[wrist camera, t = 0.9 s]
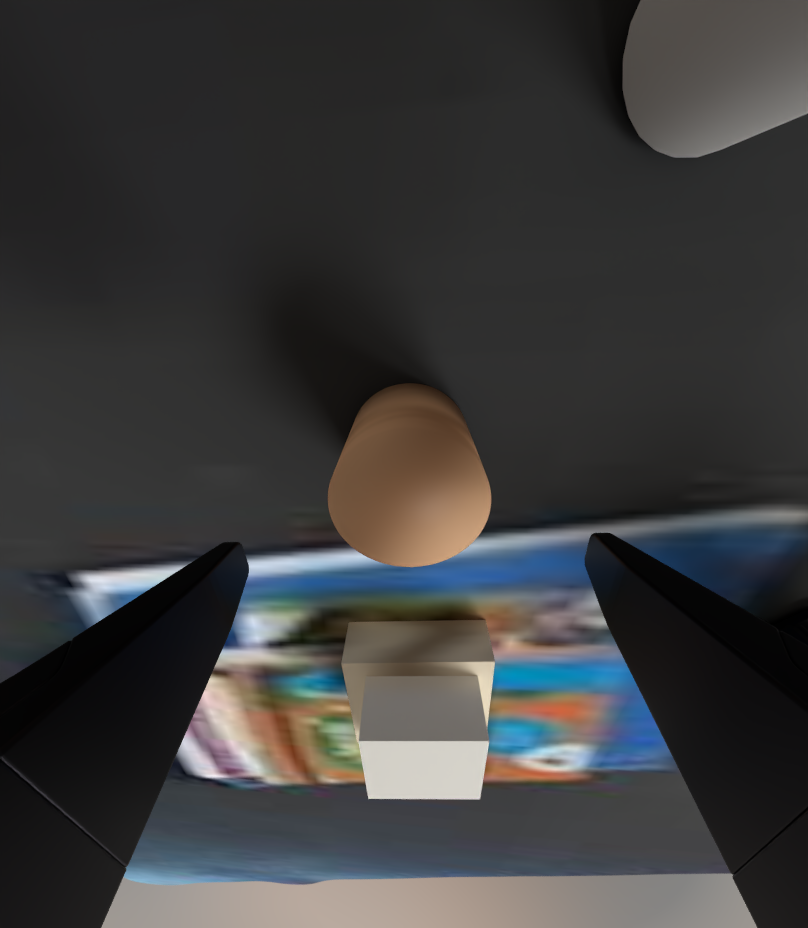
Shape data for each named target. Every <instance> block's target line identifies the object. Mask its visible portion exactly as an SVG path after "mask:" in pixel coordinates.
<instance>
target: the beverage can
mask: <svg viewBox="0 0 808 928" xmlns="http://www.w3.org/2000/svg"><path fill="white" fill-rule="evenodd" d="M622 90H623V94H624V99H625V103H626V108H627V112H628V116H629V118H630V120H631V122H632V124H633V126H634V128H635V129H636V131H637V133H638V135H639V137H640V138H641V139H643V140H644V141H645V142H646V143H647V144H648V145H649V146H650V147H652V148H653V149H654V150H655V151H658V152H660V153H663V154H666V155H668V156H671V157H674V158H685V157H700V156H703V155H706V154H709V153H712V152H716V151H719V150H722V149H724V148H726V147H729V146H731V145H734V144H736V143H738V142H741V141H743V140H745V139H748V138H750V137H753V136H755V135H757V134H760V133H762V132H765V131H767V130H769V129H772V128H774V127H776V126H779V125H781V124H784V123H786V122H788V121H791V120H793V119H796V118H798V117H800V116H803V115H805V114H807V113H808V0H640V3H639V5H638V7H637V10H636V12H635V14H634V16H633V19H632V21H631V23H630V28H629V32H628V37H627V41H626V46H625V51H624V55H623V88H622Z"/></svg>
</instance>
